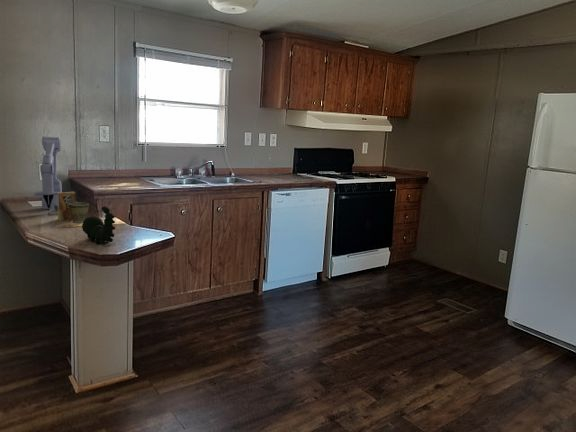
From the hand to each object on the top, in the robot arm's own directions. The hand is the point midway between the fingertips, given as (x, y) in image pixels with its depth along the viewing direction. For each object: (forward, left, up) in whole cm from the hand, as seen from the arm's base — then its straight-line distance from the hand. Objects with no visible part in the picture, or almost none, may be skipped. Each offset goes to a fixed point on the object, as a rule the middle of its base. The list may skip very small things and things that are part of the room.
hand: (48, 207), depth 272 cm
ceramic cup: (+27, -15, -4) cm, 31 cm away
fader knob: (+4, +2, -2) cm, 5 cm away
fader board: (+9, +5, -3) cm, 11 cm away
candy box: (+18, -13, -4) cm, 22 cm away
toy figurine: (+55, -53, -4) cm, 77 cm away
